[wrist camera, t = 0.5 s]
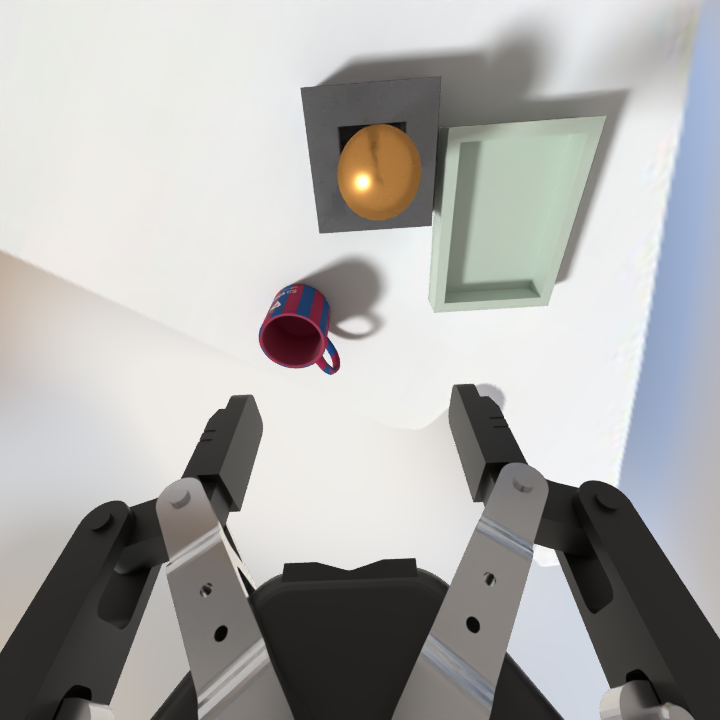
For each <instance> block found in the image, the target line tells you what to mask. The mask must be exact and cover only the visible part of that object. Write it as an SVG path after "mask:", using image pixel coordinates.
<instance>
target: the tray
mask: <svg viewBox="0 0 720 720" xmlns="http://www.w3.org/2000/svg"><path fill="white" fill-rule="evenodd" d="M606 117H607V116H592V117H576V118H563V119H550V120H537V121H524V122H511V123H498V124H485V125H472V126H459V127H446V128H440V131H439V146H438V160H437V175H436V190H435V205H434V219H433V234H432V249H431V264H430V279H429V293H428V300H429V302H430V304H431V307H432V309H433V311H434V313H437V312H453V311H469V310H485V309H501V308H518V307H534V306H548V304H549V300H550V297H551V294H552V291H553V288H554V284H555V281H556V278H557V275H558V271H559V268H560V265H561V262H562V258H563V255H564V252H565V249H566V246H567V242H568V239H569V236H570V233H571V229H572V226H573V223H574V220H575V217H576V213H577V210H578V207H579V204H580V200H581V197H582V194H583V191H584V188H585V184H586V181H587V178H588V175H589V171H590V168H591V165H592V162H593V158H594V155H595V152H596V149H597V146H598V142H599V139H600V136H601V133H602V129H603V126H604V123H605V120H606Z"/></svg>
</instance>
